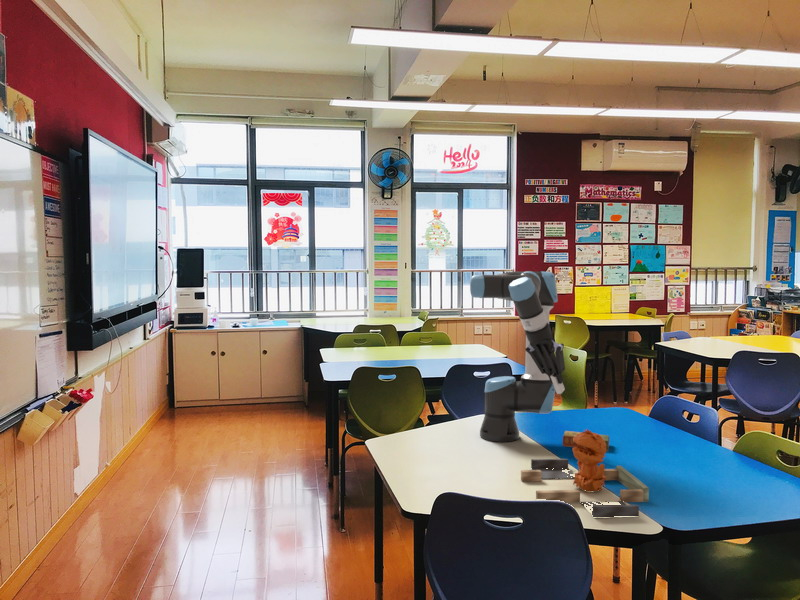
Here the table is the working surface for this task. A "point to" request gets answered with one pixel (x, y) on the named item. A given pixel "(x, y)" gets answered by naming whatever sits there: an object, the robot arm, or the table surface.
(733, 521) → the table surface
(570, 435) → the carton
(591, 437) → the orange sculpted figure
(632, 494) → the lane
